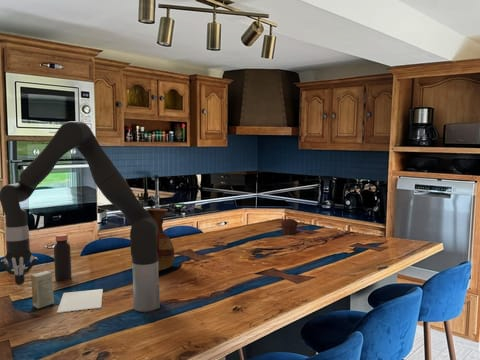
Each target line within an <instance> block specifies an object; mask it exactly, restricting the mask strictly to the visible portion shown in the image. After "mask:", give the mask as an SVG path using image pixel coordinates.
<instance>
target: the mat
mask: <svg viewBox="0 0 480 360" xmlns="http://www.w3.org/2000/svg"><path fill="white" fill-rule="evenodd" d="M103 291H104V289H103V288H99V289H91V290H90V289H89V290H79V291H71V292H70V291H69V292H63V294H62V296H61V299H60V303H59V304H58V308H57V311H56V314H62V313H63V314H64V313H71V311H73V312H79V310H81V311H89V310H88V309H90V310H97V309H102V303H103Z"/></svg>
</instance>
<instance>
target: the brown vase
mask: <svg viewBox="0 0 480 360" xmlns="http://www.w3.org/2000/svg"><path fill="white" fill-rule="evenodd" d="M144 209H145V210H146V211H147V212H148V213H149V214H150V215H151V216H152V217H153V219H154V220H155V221H156V222H157V225H158V233H157V235H156V241H157V253H158V272H160V271H162V270H166V269H168V268H170V267H172V266H173V265H174V261H175V249H174V245H173V242H172V240H171V239H170V237H169V235H167V234H166V233H165V232H164V228H163V223H164V216H165V215H166V214H167V212H169V209H167V208H153V207H152V208H151V207H146V208H145V207H144Z"/></svg>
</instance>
